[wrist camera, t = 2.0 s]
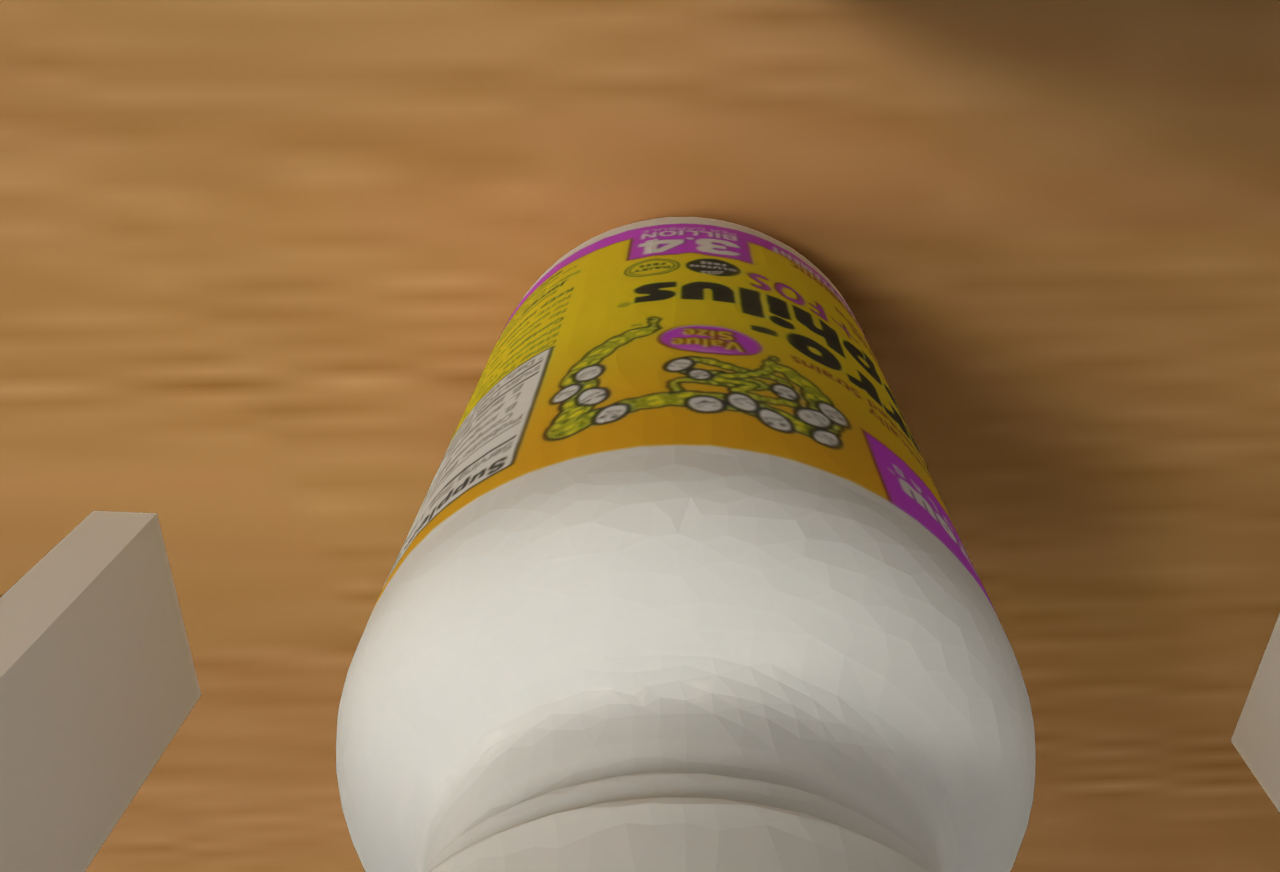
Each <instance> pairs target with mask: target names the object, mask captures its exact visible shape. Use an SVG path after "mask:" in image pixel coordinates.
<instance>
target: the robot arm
mask: <svg viewBox="0 0 1280 872" xmlns="http://www.w3.org/2000/svg"><path fill="white" fill-rule="evenodd" d="M200 696H201V692H200V688H199V684H198V680H197V675H196V671H195V667H194V663H193V659H192V655H191V651H190V647H189V643H188V638H187V634H186V630H185V626H184V622H183V618H182V614H181V610H180V606H179V601H178V597H177V593H176V589H175V585H174V581H173V577H172V573H171V569H170V564H169V560H168V556H167V552H166V548H165V544H164V540H163V536H162V532H161V527H160V523H159V519H158V515H157V513H140V512H114V511H92V512H91V513H90V514H89V515H88V516H87V517H86V518H85V519H84V520H83V521H82V522H81V523H79V524H78V525H77V526H76V527H75V528H74V529H73V530H72V531H71V532H70V533H69V534H68V535H67V536H66V537H65V538H63V539H62V540H61V541H60V542H59V543H58V544H57V545H56V546H55V547H54V548H53V549H52V550H51V551H50V552H48V553H47V554H46V555H45V556H44V557H43V558H42V559H41V560H40V561H39V562H38V563H37V564H36V565H35V566H33V567H32V568H31V569H30V570H29V571H28V572H27V573H26V574H25V575H24V576H23V577H22V578H21V579H20V580H19V581H17V582H16V583H15V584H14V585H13V586H12V587H11V588H10V589H9V590H8V591H7V592H6V593H5V594H4V595H2V596H1V597H0V872H85V871H86V869H87V868H88V866H89V865H90V863H91V862H92V860H93V859H94V857H95V855H96V854H97V852H98V851H99V849H100V848H101V846H102V845H103V843H104V842H105V840H106V839H107V837H108V836H109V834H110V833H111V831H112V830H113V828H114V827H115V825H116V824H117V822H118V821H119V819H120V818H121V816H122V814H123V813H124V811H125V810H126V808H127V807H128V805H129V804H130V802H131V801H132V799H133V798H134V796H135V795H136V793H137V792H138V790H139V789H140V787H141V786H142V784H143V783H144V781H145V780H146V778H147V777H148V775H149V774H150V772H151V770H152V769H153V767H154V766H155V764H156V763H157V761H158V760H159V758H160V757H161V755H162V754H163V752H164V751H165V749H166V748H167V746H168V745H169V743H170V742H171V740H172V739H173V737H174V736H175V734H176V733H177V731H178V730H179V728H180V726H181V725H182V723H183V722H184V720H185V719H186V717H187V716H188V714H189V713H190V711H191V710H192V708H193V707H194V705H195V704H196V702H197V701H198V699H199V698H200ZM1231 742H1232V744H1233V745H1234V747H1235V748H1236V750H1237V751H1238V753H1239V754H1240V756H1241V757H1242V758H1243V760H1244V761H1245V763H1246V764H1247V766H1248V767H1249V769H1250V770H1251V772H1252V773H1253V775H1254V776H1255V778H1256V779H1257V780H1258V782H1259V783H1260V785H1261V786H1262V788H1263V789H1264V791H1265V792H1266V794H1267V795H1268V797H1269V798H1270V799H1271V801H1272V802H1273V804H1274V805H1275V807H1276V808H1277V810H1278V811H1279V813H1280V613H1279V616H1278V619H1277V621H1276V624H1275V627H1274V629H1273V632H1272V634H1271V637H1270V640H1269V642H1268V645H1267V647H1266V650H1265V653H1264V655H1263V658H1262V660H1261V663H1260V666H1259V668H1258V671H1257V673H1256V676H1255V679H1254V681H1253V684H1252V687H1251V689H1250V692H1249V694H1248V697H1247V700H1246V702H1245V705H1244V707H1243V710H1242V713H1241V715H1240V718H1239V720H1238V723H1237V726H1236V728H1235V731H1234V733H1233V736H1232V739H1231Z"/></svg>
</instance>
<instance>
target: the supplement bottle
mask: <svg viewBox="0 0 1280 872" xmlns="http://www.w3.org/2000/svg"><path fill="white" fill-rule="evenodd" d="M1035 760H1036V752H1035V732H1034V722H1033V716H1032V711H1031V705H1030V699H1029V696H1028V693H1027V690H1026V686H1025V683H1024V680H1023V677H1022V674H1021V671H1020V668H1019V665H1018V662H1017V660H1016V657H1015V654H1014V652H1013V649H1012V647H1011V644H1010V642H1009V640H1008V638H1007V636H1006V634H1005V632H1004V630H1003V628H1002V625H1001V623H1000V621H999V619H998V617H997V614H996V612H995V610H994V608H993V606H992V604H991V602H990V599H989V597H988V595H987V593H986V591H985V589H984V587H983V585H982V583H981V581H980V579H979V577H978V575H977V573H976V571H975V569H974V567H973V565H972V563H971V561H970V559H969V557H968V555H967V553H966V551H965V548H964V546H963V544H962V542H961V540H960V538H959V536H958V533H957V531H956V529H955V527H954V525H953V523H952V521H951V519H950V516H949V514H948V512H947V510H946V508H945V506H944V504H943V501H942V499H941V497H940V495H939V493H938V490H937V488H936V486H935V484H934V482H933V480H932V478H931V476H930V474H929V471H928V468H927V465H926V464H925V462H924V460H923V458H922V456H921V454H920V452H919V449H918V447H917V445H916V443H915V441H914V439H913V437H912V435H911V433H910V431H909V429H908V427H907V425H906V423H905V420H904V418H903V416H902V414H901V411H900V409H899V407H898V405H897V403H896V401H895V398H894V396H893V394H892V392H891V390H890V388H889V386H888V384H887V382H886V380H885V377H884V375H883V373H882V371H881V369H880V366H879V364H878V362H877V360H876V358H875V356H874V354H873V352H872V350H871V348H870V347H869V344H868V342H867V340H866V337H865V335H864V333H863V331H862V329H861V327H860V325H859V324H858V322H857V320H856V318H855V316H854V314H853V313H852V311H851V309H850V308H849V306H848V304H847V303H846V301H845V300H844V298H843V297H842V295H841V294H840V292H839V291H838V290H837V289H836V287H835V286H834V285H833V284H832V282H831V281H830V280H829V279H828V278H827V277H826V276H825V275H824V274H823V273H822V272H821V271H820V270H819V269H818V268H817V267H816V266H815V265H813V264H812V263H811V262H810V261H809V260H808V259H807V258H805V257H804V256H802V255H801V254H800V253H798V252H797V251H796V250H794V249H793V248H791V247H790V246H788V245H786V244H784V243H782V242H780V241H778V240H776V239H774V238H772V237H770V236H768V235H766V234H764V233H762V232H759V231H757V230H754V229H751V228H749V227H746V226H742V225H739V224H736V223H732V222H728V221H723V220H718V219H711V218H701V217H664V218H655V219H650V220H644V221H639V222H634V223H631V224H627V225H624V226H621V227H617V228H615V229H612V230H609V231H607V232H604V233H602V234H600V235H597V236H595V237H593V238H591V239H589V240H588V241H586V242H584V243H582V244H581V245H579V246H577V247H576V248H574V249H572V250H571V251H569V252H568V253H567V254H565V255H564V256H563V257H561V258H560V259H559V260H558V261H556V262H555V263H554V264H553V265H552V266H551V267H550V268H549V269H548V270H547V271H545V272H544V273H543V274H542V275H541V277H540V278H539V279H538V280H537V281H536V282H535V283H534V285H533V286H532V287H531V288H530V289H529V290H528V292H527V293H526V294H525V296H524V297H523V299H522V300H521V302H520V303H519V305H518V306H517V308H516V309H515V311H514V312H513V314H512V316H511V317H510V319H509V321H508V323H507V324H506V326H505V328H504V330H503V331H502V333H501V335H500V337H499V339H498V341H497V343H496V345H495V347H494V349H493V351H492V353H491V355H490V357H489V360H488V362H487V364H486V366H485V368H484V371H483V373H482V375H481V377H480V379H479V381H478V384H477V386H476V388H475V390H474V393H473V395H472V397H471V399H470V401H469V403H468V405H467V407H466V410H465V412H464V414H463V416H462V418H461V420H460V422H459V424H458V427H457V429H456V431H455V433H454V435H453V437H452V440H451V442H450V444H449V446H448V449H447V451H446V453H445V455H444V458H443V460H442V462H441V464H440V466H439V469H438V471H437V473H436V475H435V476H434V479H433V481H432V483H431V486H430V488H429V490H428V492H427V495H426V497H425V499H424V501H423V503H422V505H421V507H420V509H419V512H418V514H417V516H416V518H415V520H414V523H413V525H412V527H411V529H410V531H409V534H408V536H407V538H406V540H405V542H404V545H403V547H402V548H401V550H400V553H399V555H398V557H397V559H396V561H395V563H394V565H393V567H392V569H391V572H390V574H389V576H388V578H387V579H386V581H385V584H384V587H383V589H382V591H381V593H380V595H379V597H378V599H377V601H376V603H375V605H374V608H373V610H372V613H371V615H370V618H369V620H368V623H367V625H366V628H365V630H364V632H363V635H362V637H361V639H360V642H359V644H358V646H357V649H356V651H355V654H354V657H353V659H352V662H351V664H350V667H349V670H348V673H347V676H346V680H345V684H344V688H343V691H342V696H341V700H340V705H339V711H338V719H337V736H336V772H337V779H338V785H339V792H340V798H341V805H342V810H343V813H344V816H345V820H346V823H347V826H348V830H349V833H350V836H351V839H352V842H353V845H354V847H355V849H356V852H357V854H358V856H359V858H360V861H361V863H362V865H363V868H364V870H365V872H1010V871H1011V869H1012V867H1013V865H1014V862H1015V859H1016V856H1017V854H1018V851H1019V848H1020V846H1021V843H1022V840H1023V837H1024V835H1025V832H1026V829H1027V826H1028V821H1029V816H1030V811H1031V807H1032V803H1033V796H1034V785H1035Z"/></svg>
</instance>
